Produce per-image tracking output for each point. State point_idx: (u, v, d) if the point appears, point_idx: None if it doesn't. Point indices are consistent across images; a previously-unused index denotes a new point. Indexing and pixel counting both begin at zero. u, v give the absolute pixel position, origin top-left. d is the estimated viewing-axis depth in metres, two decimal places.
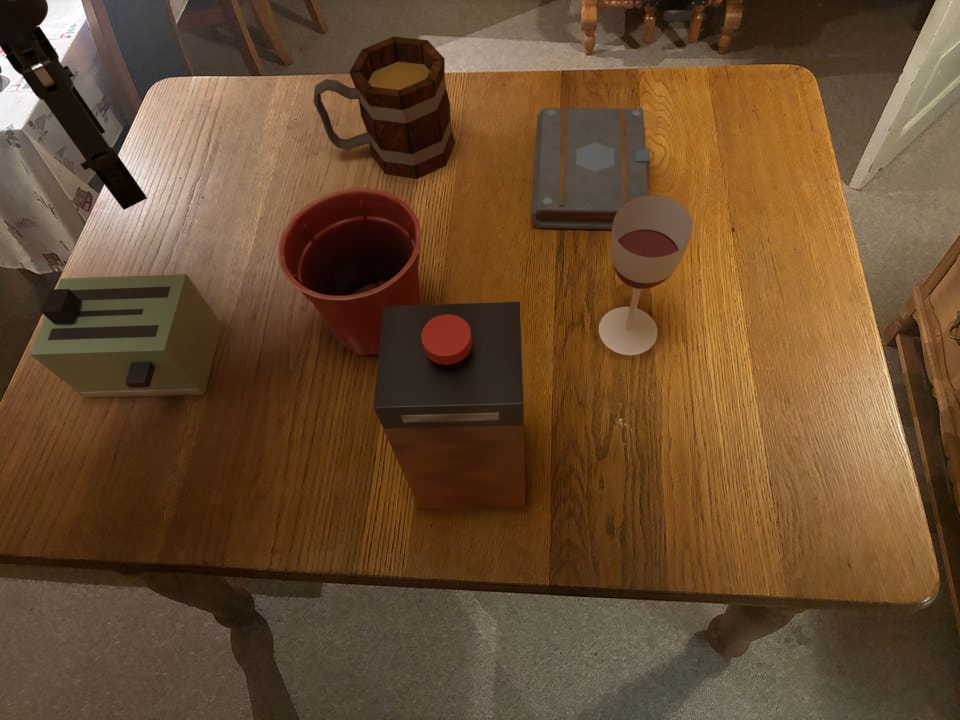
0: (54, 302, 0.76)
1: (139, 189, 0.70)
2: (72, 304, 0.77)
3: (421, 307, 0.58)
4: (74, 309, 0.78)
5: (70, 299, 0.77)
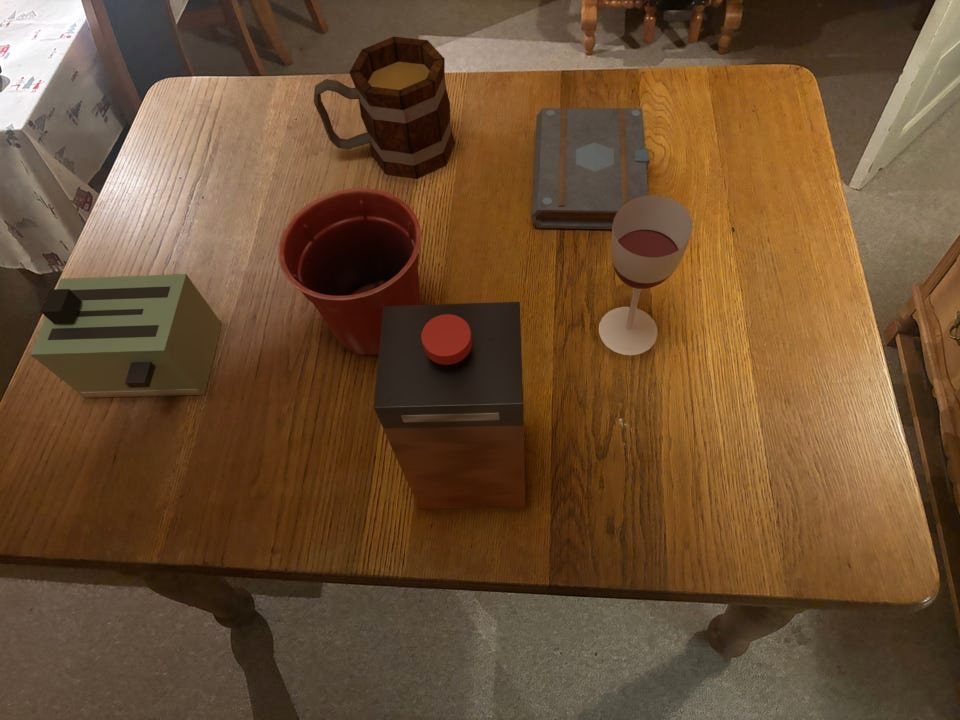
0: (54, 302, 0.76)
1: None
2: (72, 304, 0.77)
3: (421, 307, 0.58)
4: (74, 309, 0.78)
5: (70, 299, 0.77)
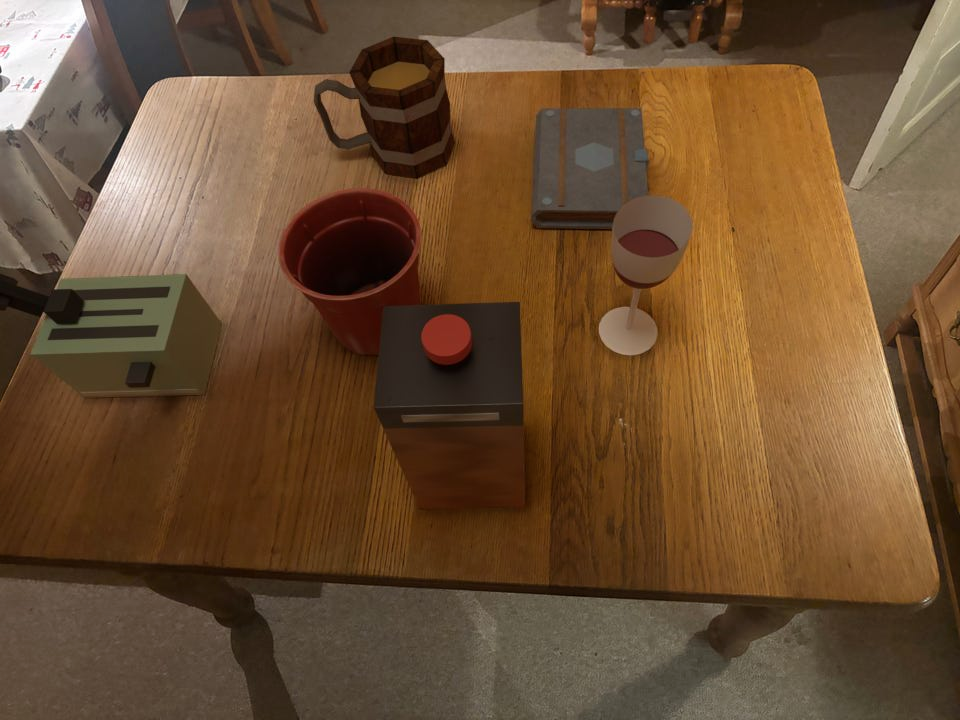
0: (56, 302, 0.76)
1: None
2: (75, 304, 0.77)
3: (421, 307, 0.58)
4: (77, 309, 0.78)
5: (73, 299, 0.77)
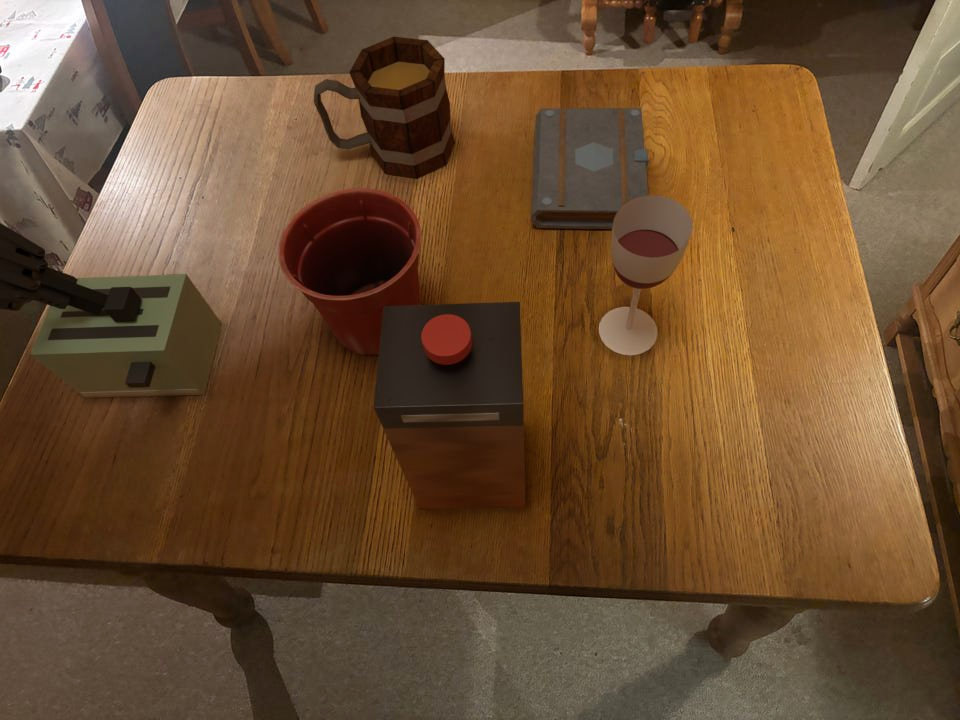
0: (116, 299, 0.76)
1: None
2: (133, 302, 0.77)
3: (421, 307, 0.58)
4: (135, 307, 0.77)
5: (132, 297, 0.77)
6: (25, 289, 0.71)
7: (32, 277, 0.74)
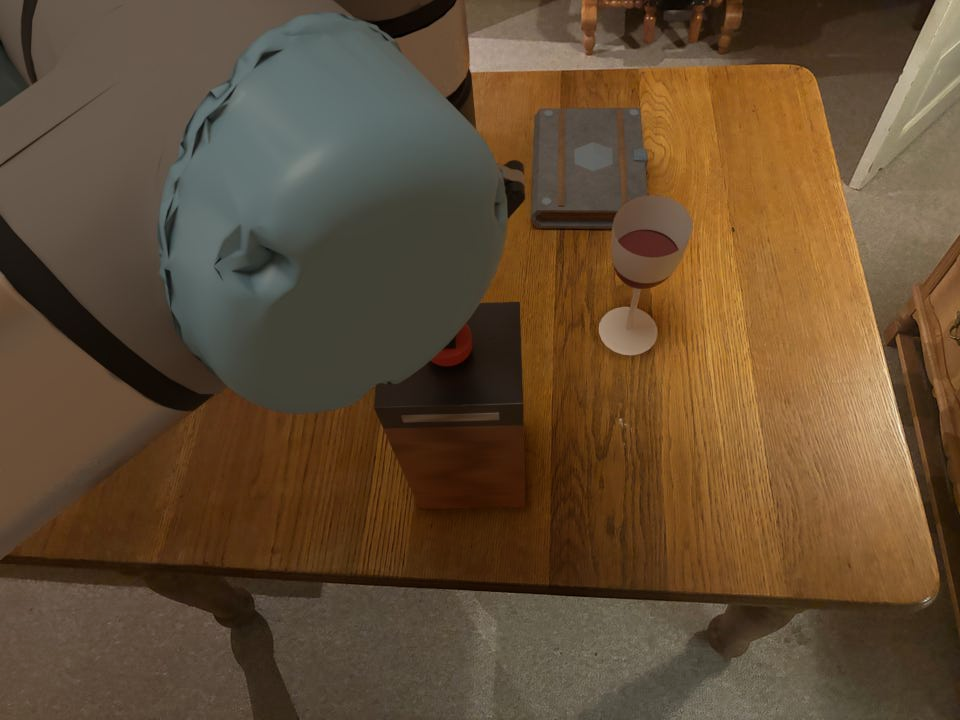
0: None
1: None
2: None
3: None
4: None
5: None
6: None
7: None
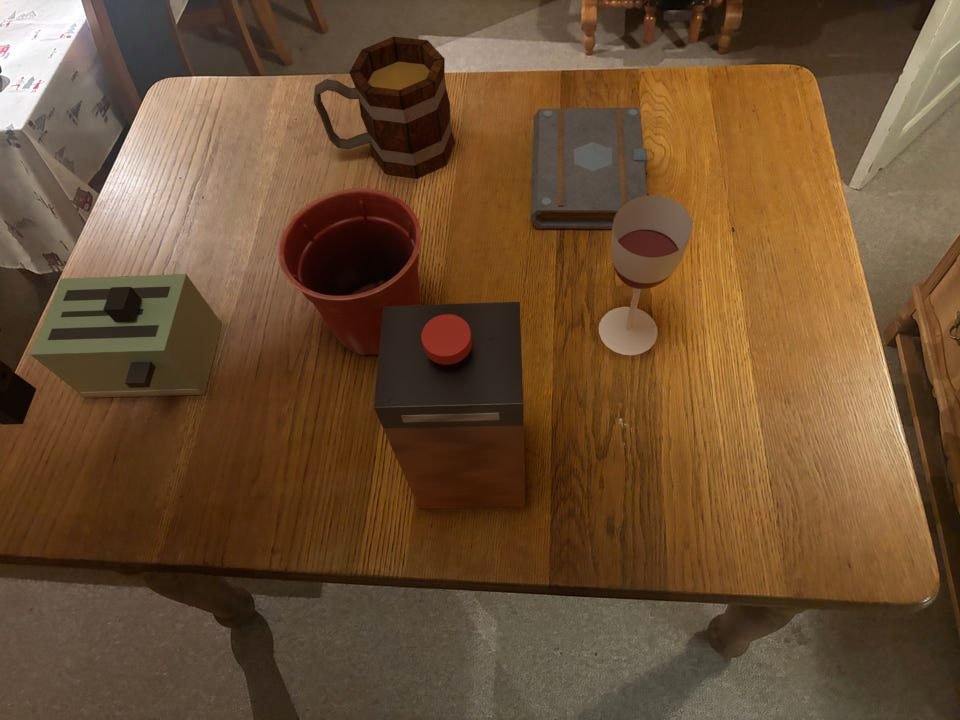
0: (116, 299, 0.76)
1: (22, 380, 0.45)
2: (133, 302, 0.77)
3: (421, 307, 0.58)
4: (135, 307, 0.77)
5: (132, 297, 0.77)
6: None
7: None
